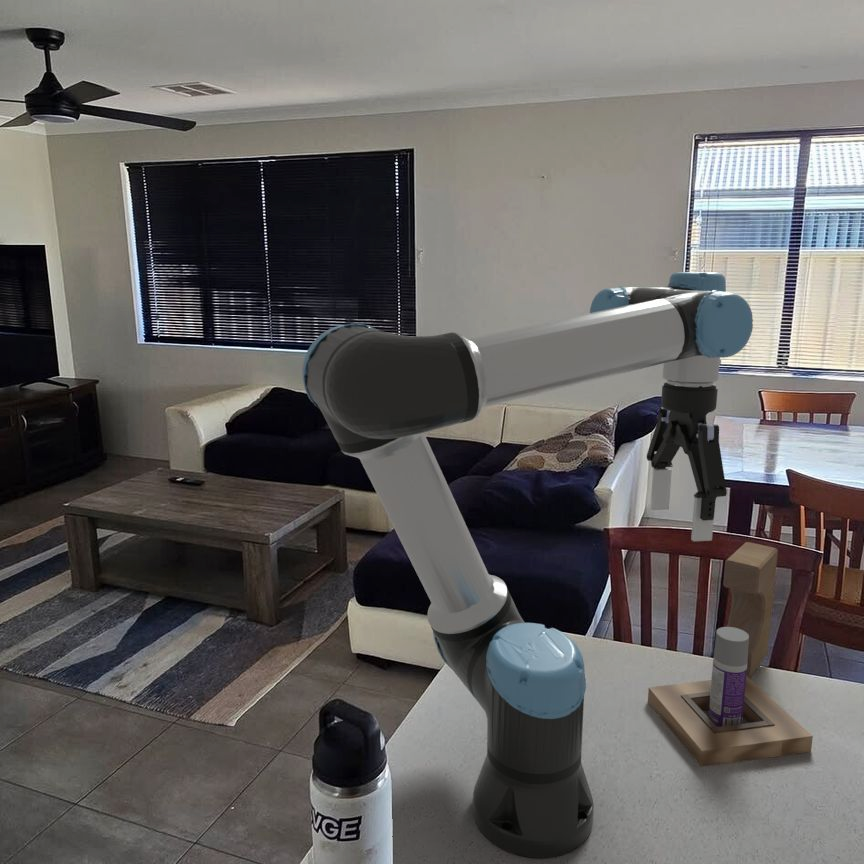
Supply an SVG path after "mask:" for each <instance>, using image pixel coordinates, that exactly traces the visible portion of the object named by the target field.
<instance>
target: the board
mask: <svg viewBox="0 0 864 864" xmlns="http://www.w3.org/2000/svg"><path fill="white" fill-rule="evenodd" d="M711 680H712V679H709V680H702V681H700V680H699V681H692V682H691V681H690V682H682V683H676V684H675V683H674V684H668V685H667V684H666V685H656V686H649V687H648V691H647V692H648V693H647V703H649V705H650V706H651V707H652V709H654V712H656V714H657V715H658V716H659V718H660V719H661V720H662V722H664V723H665V725H666V726H667V728H669V730H670V731H671V733H672V734H674V736H675V737H676V739H678V740H679V742H680V743H681V744H682V746H683V747H684V749H686V750H687V752H688V753H689V755H690V756H691V757H692V758H693V759H694V760H695V763H697V764H698V766H700V767H703V768H704V767H708V766H709V767H710V766H716V765H724V764H730V763H731V764H733V763H737V762H746V761H752V760H759V759H767V758H774V757H781V756H787V755H788V756H789V755H796V754H801V753H809V752H812V745H813V736H814V735H812V734H811V733H810V732H809V731H808V730H807V729H806V728H805V727H803V726H802V725H801V724H800V723H799V722H798V721H797V720H796V719H795V718H794V717H792V715H790V714H789V713H788V712H787V711H786V710H785V709H784V708H783V707H781V706H780V705H779V704H778V703H777V702H776V701H775V700H774V699H773V698H772V697H771V696H770V695H768V694H767V692H765V691H764V690H763V689H762V688H761V687H759V686H758V685H757V684H756V683H755V682H754V681H753V680H752V679H751V677H750V678H748V677H747V676H746V685H745V696H744V706H743V717H742V719H744V720H745V722H746V723H742V724H737V725H729V726H721V727H716V725H715V724H714V723H713V722H712V721H711V720H710V719H709V718H708V717H709V716H707V715H706V714H705V712H709V705H710V693H711Z"/></svg>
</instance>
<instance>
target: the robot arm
mask: <svg viewBox="0 0 864 864" xmlns="http://www.w3.org/2000/svg"><path fill="white" fill-rule="evenodd" d="M726 285H727V284H726V277H725V276H724V275H723V274H722V273H720V272H716V271H715V272H714V271H713V272H712V271H679V272H678V271H677V272H673V273H672V274H670V277H669V282H668V284H667V286H664V287H657V286H655V287H653V286H652V287H648V286H647V287H646V286H644V287H643V286H641V287H639V286H637V287H636V286H635V287H634V286H631V287H630V286H627V287H625V286H618V287H611V288H604V289H602V290H600V291H599V292H597V293H596V295H595V296H594V297H593V299H592V301H591V304H590V308H589V313H585V314H582V315H575V316H571V317H565V318H560V319H557V320H556V319H555V320H552V321H548V322H547V321H546V322H543V323H539V324H532V325H528V326H527V325H526V326H523V327H518V328H513V329H509V330H504V331H499V332H495V333H489V334H485V335H481V336H480V335H479V336H475V337H471V338H466V337H465V336H463V335H462V334H460V333H459V332H455V331H452V332H447V333H441V334H437V335H436V334H435V335H427V336H425V335H424V336H421V335H419V336H415V335H414V336H413V335H412V336H409V335H402V334H395V333H390V332H386V331H382V330H378V329H377V328H375V327H373V326H371V325H368V324H363V323H349V324H342V325H337V326H334V327H332V328H329V329H328V330H326V331H324V332H323V333H321V334H320V335H318V336H317V337H316V338H315V340H314V341H313V342H312V343H311V344H310V346H309V348H307V351H306V353H305V356H304V358H303V359H304V360H303V362H302V370H301V371H302V372H301V374H302V375H301V376H302V382H303V383H302V384H303V386H304V390H305V393H306V394H307V397H308V399H309V400H310V401H311V403H312V404H313V405H314V406H315V407H317V408H318V410H320V412H321V414H322V415H323V418H324V419H325V421H326V423H327V425H328V427H329V428H330V430H331V431H330V432H331V433H332V435H333V437H334V439H335V441H336V442H337V445H338V446H339V449H340V450H341V452H342V453H343V454H344V455H346V456H350V457H354V458H357V459H359V460H360V463H361V464H362V467H363V468H364V470H365V473H366V475H367V477H368V479H369V480H370V482H371V484H372V487H373V488H374V490H375V493H376V494H377V496H378V498H379V500H380V503H381V504H382V506H383V509H384V511H385V512H386V515H387V517H388V519H389V521H390V523H391V524H392V527H393V529H394V531H395V532H396V534H397V536H398V539H399V541H400V542H401V545H402V547H403V549H404V551H405V552H406V555H407V556H408V558H409V560H410V562H411V565H412V567H413V568H414V570H415V572H416V575H417V576H418V578H419V581H420V582H421V585H422V586H423V588H424V591H425V593H426V594H427V597H428V598H429V600H430V605H429V606H428V610H427V621H428V624H429V626H430V628H431V630H432V635H433V641H434V643H435V646H436V649H437V652H438V654H439V655H440V657H441V659H442V660H443V662H444V664H446V665H447V666H448V667H449V668H450V669H451V670H452V671H453V672H454V674H455V675H456V676H457V677H458V679H459V680H460V681H461V682H462V683H463V685H464V686H465V688H466V689H467V690H468V691H469V692H470V693H471V695H472V697H473V698H474V699H475V701H476V702H477V703H478V704H479V705H480V707H481V708H482V710H483V711H484V713H485V715H486V716H485V717H486V723H487V725H486V732H487V733H486V742H487V743H486V745H487V746H486V747H487V748H486V756H485V759H484V762H483V763H482V766H481V768H480V771H479V774H478V777H477V779H476V782H475V785H474V787H473V793H472V815H473V818H474V822H475V824H476V827H477V828H478V830H479V831H480V833H482V834H483V836H484V837H485V838H486V839H487V840H488V841H490V842H491V843H492V844H493V845H495V846H497V847H499V848H500V849H502V850H505V851H506V852H508V853H512V854H514V855H517V856H523V857H529V858H536V859H537V858H538V859H539V858H540V859H542V858H552V857H556V856H561V855H565V854H568V853H570V852H572V851H574V850H576V849H577V848H578V847H579V846H581V845H582V844H584V842H585V841H586V840H587V838H589V836H590V835H591V834H590V833H591V832H592V829H593V827H594V826H593V825H594V810H595V809H594V808H595V806H594V804H595V803H594V798H593V795H592V791H591V788H590V786H589V783H588V779H587V776H586V773H585V770H584V767H583V763H582V750H583V730H584V727H583V725H584V709H585V707H584V706H585V705H584V704H585V703H584V702H585V693H586V688H587V681H586V673H585V671H586V670H585V662H584V656H583V654H582V652H581V649H580V648H579V647H578V645H577V644H576V642H575V641H574V640H573V639H572V638H571V637H569V636H568V635H566V633H564V632H562V631H561V630H560V629H557V628H554V627H550V628H547V627H546V626H545V624H543V623H535V622H525V621H524V619H523V618H522V616H521V614H520V613H519V610H518V608H517V607H516V604H515V602H514V599H513V598H512V596H511V593H510V591H509V589H508V587H507V584H506V583H505V581H504V580H503V579H501V578H500V577H498V576H496V575H493V574H492V575H491V574H489V572H488V570H487V568H486V565H485V563H484V561H483V559H482V557H481V555H480V552H479V551H478V548H477V546H476V543H475V541H474V539H473V537H472V536H471V533H470V531H469V528H468V526H467V525H466V522H465V519H464V517H463V515H462V513H461V511H460V509H459V507H458V505H457V502H456V499H455V498H454V495H453V493H452V491H451V488H450V486H449V485H448V483H447V480H446V478H445V476H444V474H443V471H442V469H441V467H440V465H439V463H438V461H437V459H436V456H435V454H434V452H433V449H432V447H431V445H430V443H429V441H428V438H427V437H426V434H425V433H427V432H431V431H436V430H440V429H442V428H447V427H451V426H454V425H459V424H462V423H467V422H471V421H473V420H475V419H477V418H478V416H479V414H480V413H481V411H482V409H484V408H487V407H491V406H496V405H500V404H503V403H508V402H512V401H517V400H520V399H524V398H528V397H532V396H536V395H540V394H544V393H549V392H552V391H556V390H561V389H565V388H567V387H573V386H576V385H581V384H585V383H589V382H592V381H597V380H601V379H605V378H609V377H612V376H613V377H614V376H618V375H621V374H625V373H629V372H633V371H638V370H642V369H645V368H650V367H655V366H659V365H661V364H663V365H662V366H663V368H662V379H663V380H665V382H664V383H663V384H662V386H661V397H660V398H661V403H660V406H661V407H659V409H658V414H657V415H658V416H657V422H656V425H655V428H654V432H653V434H652V437H651V440H650V444H649V445H648V446H649V447H648V449H647V453H646V460H647V461H648V462H650V463H651V464H650V465H651V468H652V480H651V481H652V483H651V494H650V495H651V497H650V510H651V511H666V510H670V497H671V484H672V472H673V471H672V469H671V468H673V467H674V466H673V463H672V462H673V460H674V458H675V457H676V455H677V454H678V451H679V449H680V448H682V450H683V451H682V452H683V453H684V454H686V455H687V456H688V461H689V464H690V467H691V471H692V475H693V477H694V482H695V486H696V489H697V492H695V493H694V494H693V497H694V499H693V512H692V524H691V525H692V526H691V535H690V540H691V541H692V542H705V541H706V542H710V541H713V533H714V532H713V530H714V522H715V521H714V520H715V510H716V500H717V498H720V497H726V496H727V495H728V492H727V491H728V490H727V484H726V479H725V472H724V464H723V459H722V453H721V448H720V447H721V446H720V425H718V424H717V423H715V424H712V423H710V424H708V423H707V415H708V414H709V413H713V412H714V411H715V410H716V409H717V403H718V389H719V387H718V386H717V385H716V384H715V383H716V382H717V381H719V375H720V373H719V371H720V365H721V364H722V360H721V358H725V359H726V358H729V357H732V356H735V355H737V354H738V353H739V352H741V351H742V350H743V349H744V348H745V346H747V344H748V342H749V340H750V338H751V336H752V334H753V333H752V332H753V328H754V325H753V321H754V319H753V312H752V308H751V306H750V304H749V302H747V300H745V298H744V297H742V296H740V295H739V294H736V293H732V292H728V291H727V286H726Z"/></svg>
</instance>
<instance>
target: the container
mask: <svg viewBox="0 0 864 864" xmlns="http://www.w3.org/2000/svg"><path fill="white" fill-rule="evenodd" d="M714 640H715V641H714V650H713V657H712V670H711V672H712V673H711V679H710V680H711V693H710V705H709V711H708V716H707V717H708V718H709V719H710V720H711V721H712V722H713V723H714V724H715V725H716V727H721V726H729V725H737V724H743V706H744V696H745V685H746V675H747V661H748V645H749V635H748V634H747V633H746V632H745V631H743V630H741V629H738V628H734V627H727V626H722V627H719V628H717V629H716V634H715V639H714Z"/></svg>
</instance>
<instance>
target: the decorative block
mask: <svg viewBox="0 0 864 864" xmlns="http://www.w3.org/2000/svg"><path fill="white" fill-rule="evenodd" d="M778 552H779V551H778V549H777V548H776V547H773V546H768V545H764V544H759V543H754V542H749V541H746V542H744V543H743V544H742V545H741V546H740V547H739V548H738V549H737V550H736V551H734V553H732V554H731V555H730V556H729V557H728V558H727V559H726V560H725V561H724V571H723V584H722V585H723V587H724V588H726V589H730V592H731V605H730V612H729V617H728V621H727V624H726V627H734V628H738V629H741V630H743V631H745V632H746V633H747V634H748V635H749V645H748V661H747V675H746V676H747V677H748V678H750V679H751V677H752V675H753V674H754V672H755V671H756V670H757V668H758V667H759V666H760V664H761V663H762V661H764V659H765V658H766V656H767V655H768V652H769V651H768V650H769V641H770V634H771V633H770V632H771V625H772V615H773V614H772V612H773V603H774V592H775V583H776V582H775V581H776V573H777V572H776V571H777V563H778V555H779V553H778Z"/></svg>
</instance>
